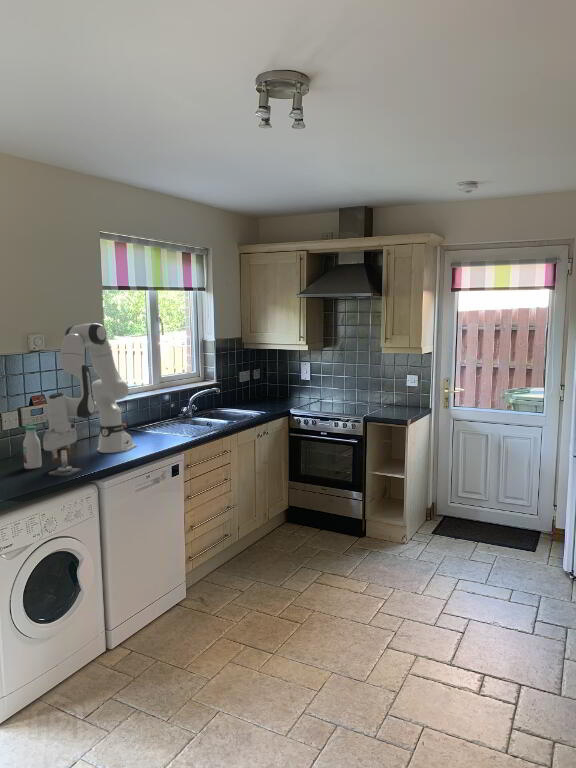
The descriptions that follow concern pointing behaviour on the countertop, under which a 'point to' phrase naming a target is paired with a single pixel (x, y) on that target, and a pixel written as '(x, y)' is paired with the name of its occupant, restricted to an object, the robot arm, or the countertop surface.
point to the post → (64, 467)
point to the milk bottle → (31, 449)
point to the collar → (60, 454)
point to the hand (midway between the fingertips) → (61, 455)
